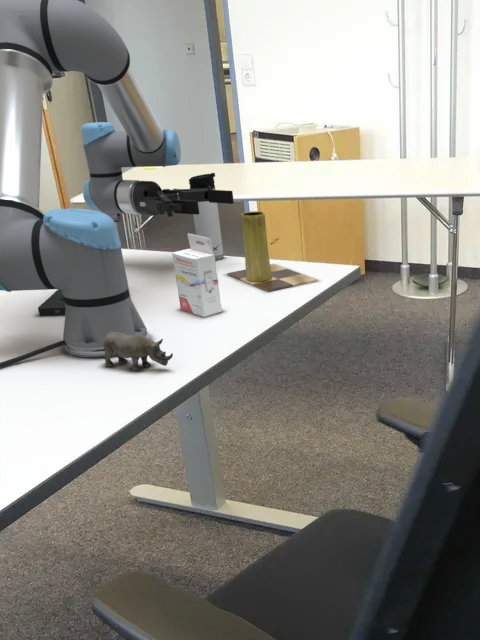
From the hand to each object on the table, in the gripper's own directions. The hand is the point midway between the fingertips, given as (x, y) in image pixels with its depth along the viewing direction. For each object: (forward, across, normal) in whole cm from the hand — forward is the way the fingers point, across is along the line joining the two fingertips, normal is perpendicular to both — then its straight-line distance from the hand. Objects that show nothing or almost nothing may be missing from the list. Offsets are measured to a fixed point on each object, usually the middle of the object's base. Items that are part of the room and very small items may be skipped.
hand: (215, 202), depth 172 cm
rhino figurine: (+20, +56, -17) cm, 62 cm away
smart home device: (-21, +29, -17) cm, 40 cm away
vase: (+10, 0, -16) cm, 19 cm away
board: (+11, -3, -16) cm, 20 cm away
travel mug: (-14, -15, -17) cm, 26 cm away
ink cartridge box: (+11, +24, -17) cm, 32 cm away
